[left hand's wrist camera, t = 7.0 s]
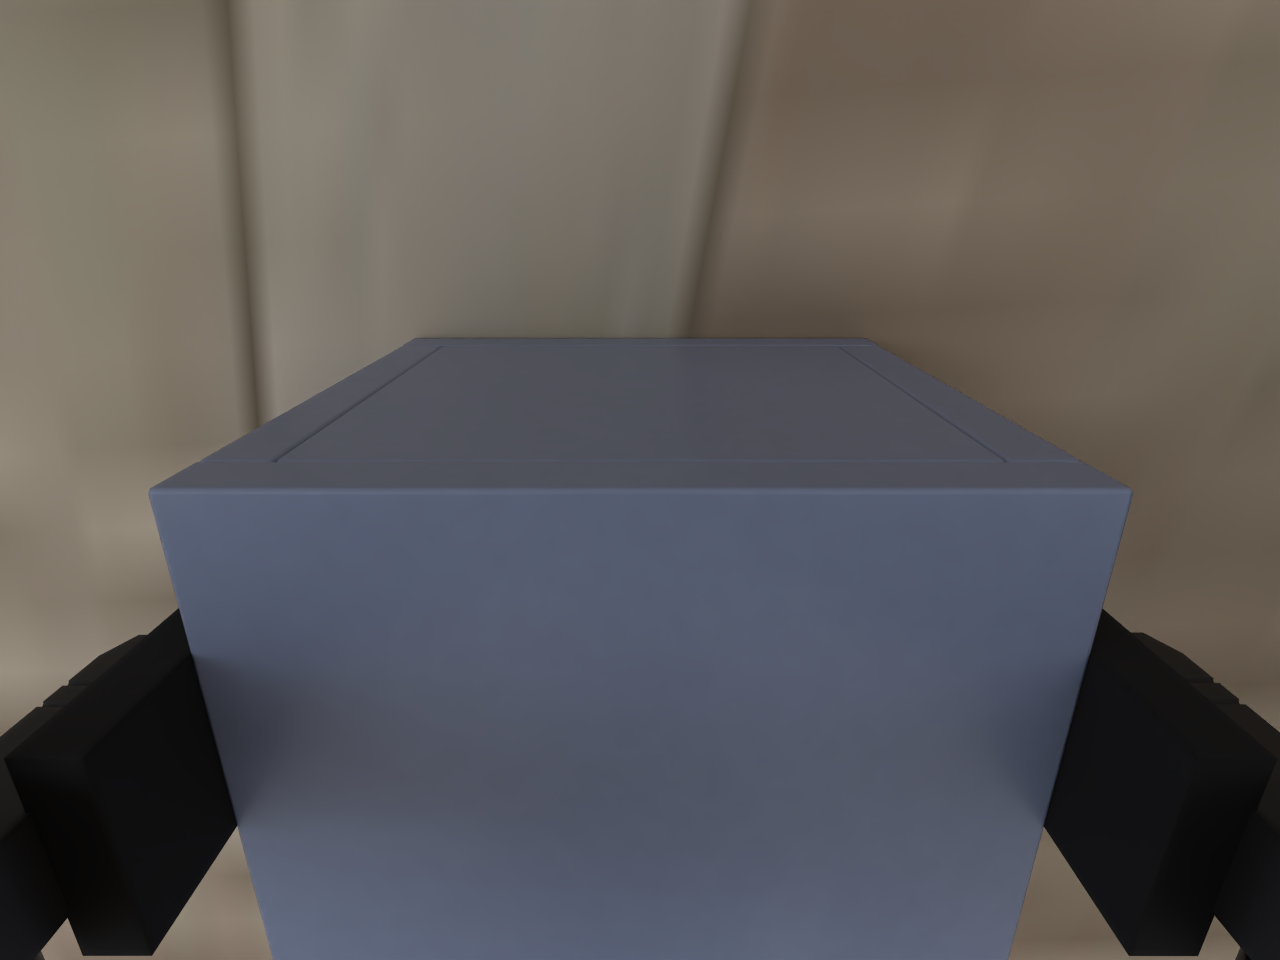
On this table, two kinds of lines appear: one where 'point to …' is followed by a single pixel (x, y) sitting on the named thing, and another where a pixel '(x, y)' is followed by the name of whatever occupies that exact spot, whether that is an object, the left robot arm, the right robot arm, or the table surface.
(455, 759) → the cabinet
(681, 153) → the table surface
